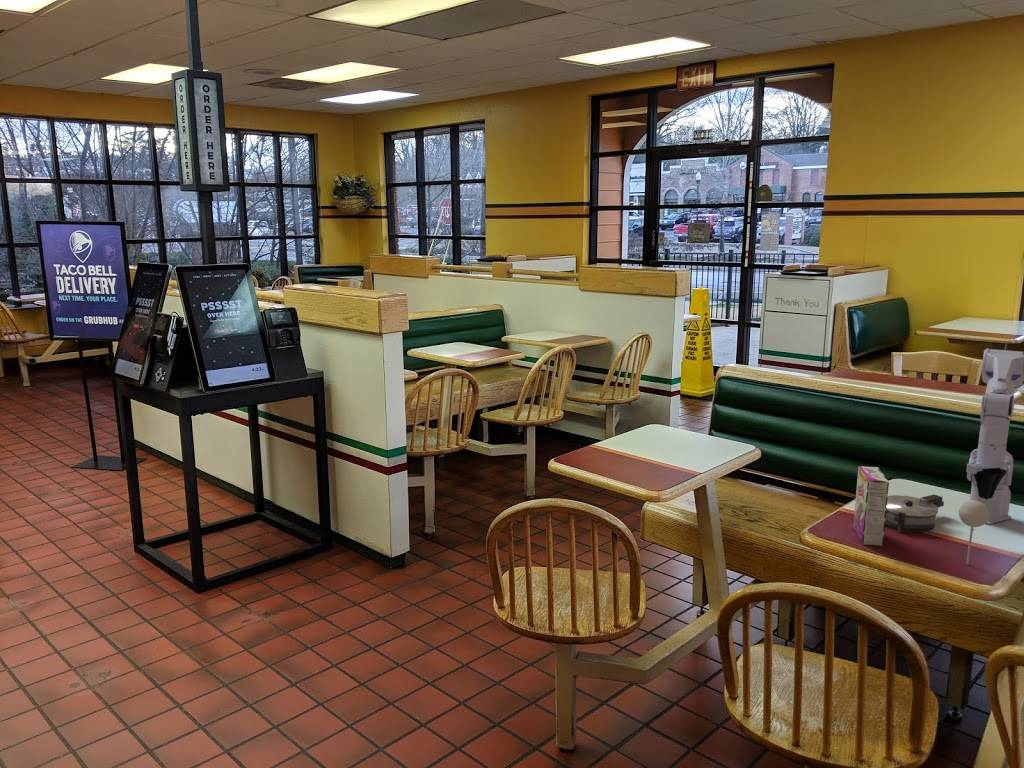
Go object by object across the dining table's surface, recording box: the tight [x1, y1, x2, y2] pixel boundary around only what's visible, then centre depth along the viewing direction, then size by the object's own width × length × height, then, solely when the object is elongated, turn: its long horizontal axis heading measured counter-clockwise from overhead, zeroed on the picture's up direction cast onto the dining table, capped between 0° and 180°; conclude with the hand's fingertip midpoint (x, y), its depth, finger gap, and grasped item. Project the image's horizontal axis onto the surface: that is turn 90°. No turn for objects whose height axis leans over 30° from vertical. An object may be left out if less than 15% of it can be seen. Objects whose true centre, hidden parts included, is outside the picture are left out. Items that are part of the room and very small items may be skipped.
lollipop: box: [958, 500, 989, 566], centre depth 179 cm, size 6×6×15 cm
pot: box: [885, 500, 945, 534], centre depth 206 cm, size 20×13×5 cm, turn 117°
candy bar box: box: [852, 465, 890, 547], centre depth 194 cm, size 11×5×16 cm, turn 168°
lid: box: [886, 494, 944, 517], centre depth 205 cm, size 19×14×2 cm
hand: (985, 497), depth 193 cm, fingers closed
